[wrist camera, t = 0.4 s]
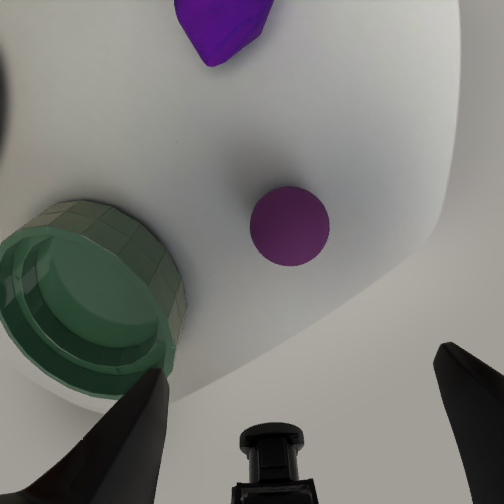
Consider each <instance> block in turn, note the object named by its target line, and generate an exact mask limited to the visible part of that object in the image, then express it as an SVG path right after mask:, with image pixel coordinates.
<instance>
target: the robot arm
mask: <svg viewBox="0 0 504 504" xmlns="http://www.w3.org/2000/svg"><path fill="white" fill-rule="evenodd" d="M433 365H434V366H433V367H434V371H435V374H436V378H437V381H438V385H439V389H440V393H441V397H442V400H443V404H444V407H445V410H446V413H447V416H448V418H449V421H450V424H451V427H452V430H453V433H454V436H455V439H456V442H457V445H458V449H459V452H460V456H461V459H462V462H463V466H464V469H465V473H466V477H467V481H468V484H469V488H470V492H471V497H472V501H473V504H504V375H502V374H501V373H499V372H498V371H496V370H494V369H493V368H492V367H490V366H488V365H487V364H485V363H484V362H482V361H481V360H479V359H478V358H476V357H475V356H473V355H472V354H470V353H468V352H467V351H465V350H464V349H462V348H460V347H459V346H458V345H456V344H454V343H453V342H447V343H443V344H441V345H440V347H439V349H438V351H437V354H436V356H435V359H434V362H433ZM168 402H169V384H168V381H167V378H166V375H165V373H164V370H163V369H162V368H156V367H151V368H149V369H148V370H147V371H146V372H145V373H144V374H143V375H142V376H141V377H140V378H139V379H138V380H137V381H136V382H135V383H134V384H133V385H132V387H131V388H130V389H129V390H128V391H127V392H126V393H125V394H124V395H123V396H122V397H121V398H120V399H119V400H118V401H117V402H116V403H115V405H114V406H113V407H112V408H111V409H110V410H109V411H108V412H107V413H106V414H105V415H104V416H103V417H102V418H101V419H100V420H99V422H98V423H97V424H96V425H95V426H94V427H93V428H92V429H91V430H90V431H89V432H88V433H87V434H86V435H85V436H84V437H83V440H80V442H78V444H77V445H76V446H75V447H74V448H73V449H72V450H71V451H70V452H69V453H68V454H67V455H66V456H65V457H63V458H62V459H61V460H60V461H59V462H58V463H57V464H56V465H54V466H53V467H52V468H51V469H49V471H47V472H46V473H45V474H43V475H42V476H41V477H40V478H38V479H37V480H36V481H35V482H34V483H32V484H31V485H30V486H28V487H27V488H25V489H23V490H21V491H18V492H15V493H9V494H2V495H0V504H154V498H155V492H156V486H157V480H158V475H159V469H160V464H161V457H162V453H163V448H164V442H165V436H166V429H167V416H168V415H167V414H168ZM299 440H300V434H299V433H286V434H272V435H248V436H245V437H244V441H245V448H246V454H247V459H248V460H249V482H250V483H237V486H235V487H232V499H231V504H318V498H317V494H316V490H315V485H314V481H313V479H308V480H299V476H298V467H297V458H296V456H297V453H298V447H299Z"/></svg>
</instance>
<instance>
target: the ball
mask: <svg viewBox="0 0 504 504" xmlns="http://www.w3.org/2000/svg"><path fill="white" fill-rule="evenodd" d="M250 233H251V237H252V240H253V243H254V245H255V246H256V248H257V250H258V251H259V252H260V253H261V254H262V255H263V256H264V257H265V258H266V259H268V260H269V261H271V262H273V263H276V264H279V265H283V266H297V265H301V264H304V263H307V262H309V261H310V260H312V259H313V258H315V257H316V256H317V255H318V254H319V253H320V252H321V250H322V249H323V248H324V246H325V244H326V242H327V239H328V235H329V218H328V214H327V211H326V209H325V207H324V205H323V204H322V202H321V201H320V200H319V199H318V198H317V197H316V196H315V195H314V194H312V193H311V192H309V191H307V190H305V189H302V188H299V187H292V186H287V187H280V188H277V189H274V190H272V191H270V192H268V193H267V194H266V195H264V196H263V197H262V198H261V199H260V200H259V201H258V203H257V204H256V206H255V207H254V210H253V212H252V215H251V220H250Z"/></svg>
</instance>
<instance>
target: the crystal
mask: <svg viewBox="0 0 504 504" xmlns="http://www.w3.org/2000/svg"><path fill="white" fill-rule="evenodd" d="M273 1H274V0H174V6H175V11H176V15H177V18H178V21H179V22H180V24H181V26H182V28H183V29H184V31H185V33H186V34H187V36H188V38H189V39H190V41H191V43H192V44H193V46H194V47H195V49H196V51H197V52H198V54H199V56H200V57H201V59H202V60H203V62H204V63H205V64H206V65H207V66H209V67H213V66H216V65H219V64H222V63H224V62H226V61H227V60H228V59H230V58H231V57H232V56H233V55H235V54H236V53H237V52H238V51H240V50H241V49H242V48H244V47H245V46H246V45H248V44H249V43H250V42H252V41H253V40H254V39H256V38H257V37H258V36H259V35H260V34H261V32H262V30H263V27H264V25H265V22H266V20H267V17H268V14H269V12H270V9H271V6H272V3H273Z"/></svg>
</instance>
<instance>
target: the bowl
mask: <svg viewBox="0 0 504 504" xmlns="http://www.w3.org/2000/svg"><path fill="white" fill-rule="evenodd" d="M186 307H187V304H186V299H185V293H184V288H183V283H182V278H181V276H180V274H179V272H178V270H177V268H176V267H175V265H174V263H173V261H172V259H171V257H170V255H169V253H168V252H167V250H166V248H165V247H164V246H163V245H162V244H161V243H160V242H159V241H158V240H157V239H156V238H155V237H154V236H153V235H152V234H151V233H150V232H149V231H148V230H147V229H146V228H145V227H144V226H143V225H141V223H139V222H137V221H136V220H134V219H132V218H130V217H129V216H127V215H125V214H124V213H122V212H120V211H119V210H117V209H115V208H113V207H111V206H107V205H102V204H98V203H94V202H89V201H85V200H79V201H72V202H65V203H59V204H55V205H53V206H52V207H50V208H49V209H47V210H46V211H44V212H43V213H41V214H40V215H38V216H37V217H35V218H34V219H32V220H31V221H29V222H28V223H27V224H25V225H24V226H22V227H21V228H20V229H18V230H17V231H16V232H14V233H13V234H12V235H10V236H9V237H8V238H6V239H5V240H4V241H2V242H1V244H0V320H1V322H2V324H3V326H4V328H5V330H6V332H7V334H8V336H9V337H10V338H11V340H12V341H13V342H14V343H15V345H16V346H17V347H18V349H19V350H20V351H21V352H22V353H23V355H24V356H25V357H26V358H27V359H28V360H30V361H31V362H32V363H33V364H34V365H35V366H36V367H38V368H39V369H40V370H41V371H42V372H43V373H45V374H46V375H47V376H49V377H51V378H52V379H54V380H56V381H57V382H59V383H61V384H63V385H64V386H66V387H68V388H70V389H72V390H75V391H78V392H80V393H83V394H86V395H89V396H92V397H97V398H104V399H112V400H119V399H120V398H121V397H122V396H123V395H124V394H125V393H126V392H127V391H128V390H129V389H130V388H131V387H132V385H133V384H134V383H135V382H136V381H137V380H138V379H139V378H140V377H141V376H142V375H143V374H144V373H145V372H146V371H147V370H148V369H149V368H151V367H156V368H162V369H163V370H164V373H165V375H166V378H167V377H168V376H169V375H170V373H171V372H172V370H173V366H174V361H175V357H176V353H177V349H178V345H179V341H180V337H181V333H182V329H183V323H184V318H185V313H186Z"/></svg>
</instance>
